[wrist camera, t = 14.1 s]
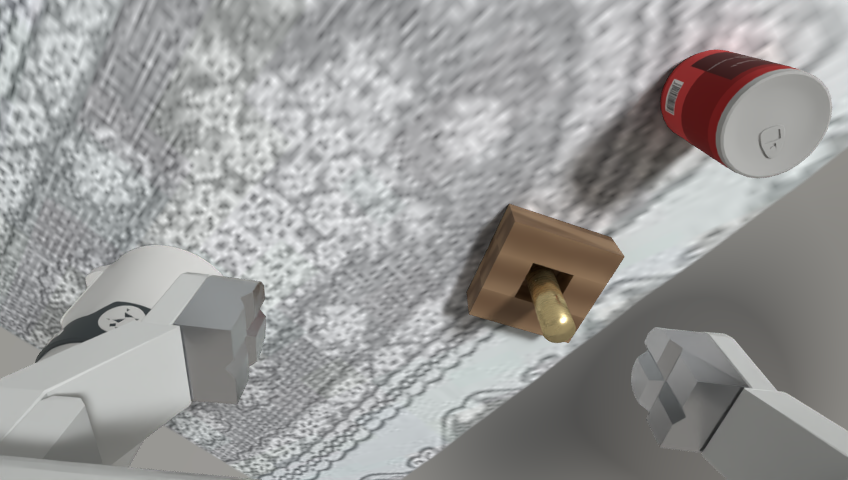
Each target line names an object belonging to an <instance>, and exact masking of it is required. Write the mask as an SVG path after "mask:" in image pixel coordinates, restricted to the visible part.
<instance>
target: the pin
mask: <svg viewBox="0 0 848 480" xmlns="http://www.w3.org/2000/svg"><path fill="white" fill-rule="evenodd" d="M525 279H526V282H527V285H528V288H529V292H530V295H531V298H532V301H533V304H534V307H535V311H536V314H537V317H538V320H539V323H540V326H541V330H542V333H543V336H544V337H545V338H546V339H547V340H548V341H550V342H554V343H561V342H565V341H567V340H569V339H570V338H571V337H572V336H573V335H574V333H575V331H576V326H575V323H574V321H573V319H572V316H571V314H570V311H569V309H568V307H567V304H566V302H565V299H564V297H563V295H562V292H561V290H560V287H559V285H558V283H557V280H556V278H555V275H554V273H553V271H552V268H548V267H545V266H542V265H539V264H536V263H533V264H532V266H531V268H530V270H529V272H528V274H527V275H526V277H525Z"/></svg>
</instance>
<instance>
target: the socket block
mask: <svg viewBox="0 0 848 480" xmlns="http://www.w3.org/2000/svg"><path fill="white" fill-rule="evenodd" d="M623 258H624V255H623V254H622V252H621V251H620V249H619V248H618V246H617V245H616V244H615V242H614V241H613V239H612V238H611V237H608V236H605V235H602V234H599V233H596V232H593V231H590V230H587V229H584V228H581V227H578V226H575V225H572V224H569V223H566V222H563V221H560V220H557V219H554V218H551V217H548V216H545V215H542V214H539V213H536V212H533V211H529V210H526V209H523V208H520V207H517V206H514V205H511V204H509V205H508V207H507V209H506V211H505V214H504V216H503V218H502V220H501V222H500V224H499V226H498V228H497V230H496V232H495V234H494V236H493V239H492V241H491V243H490V245H489V247H488V249H487V251H486V253H485V255H484V257H483V259H482V262H481V264H480V266H479V268H478V270H477V272H476V274H475V276H474V278H473V280H472V282H471V284H470V287H469V289H468V291H467V301H468V310H469V314H470V315H473V316H477V317H480V318H484V319H487V320H491V321H494V322H497V323H501V324H504V325H508V326H511V327H515V328H518V329H522V330H525V331H529V332H532V333H536V334H539V335H543V333H542V330H541V326H540V323H539V320H538V317H537V314H536V311H535V307H534V304H533V301H532V298H531V295H530V292H529V288H528V285H527V282H526V279H525V277H526V275H527V274H528V272H529V270H530V268H531V266H532V264H533V263H536V264H539V265H542V266H545V267H548V268H552V271H553V273H554V275H555V278H556V280H557V283H558V285H559V287H560V290H561V292H562V295H563V297H564V299H565V302H566V304H567V307H568V309H569V311H570V314H571V316H572V319H573V321H574V323H575V326H576V331H577V329H578V328H579V326H580V324H581V323H582V321H583V320H584V318H585V317H586V315H587V314H588V312H589V311H590V309H591V308H592V306H593V305H594V303H595V301H596V300H597V298H598V297H599V295H600V294H601V292H602V291H603V289H604V288H605V286H606V285H607V283H608V281H609V280H610V278H611V277H612V275H613V274H614V272H615V271H616V269H617V268H618V266H619V265H620V263H621V262H622V260H623ZM576 331H575V332H576ZM574 334H575V333H574ZM572 337H573V336H572ZM572 337H571V338H572ZM571 338H570V339H569V340H567V341H565V342H567V343H569V341H570V340H571Z"/></svg>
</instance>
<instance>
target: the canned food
mask: <svg viewBox="0 0 848 480" xmlns="http://www.w3.org/2000/svg"><path fill="white" fill-rule="evenodd" d="M660 102H661V111H662V115H663V118H664V120H665V122H666V124H667V126H668V127H669V128H670V129H671V130H672V131H673V132H674V133H676V134H677V135H679V136H680V137H682V138H683V139H685V140H686V141H688V142H689V143H691V144H692V145H694V146H695V147H697V148H698V149H700V150H701V151H703V152H704V153H706V154H707V155H709V156H710V157H712V158H713V159H715V160H716V161H718V162H719V163H721V164H722V165H724V166H726V167H727V168H729V169H731V170H732V171H734V172H736V173H739V174H741V175H743V176H746V177H751V178H767V177H771V176H775V175H779V174H781V173H784V172H786V171H788V170H790V169H792V168H793V167H795V166H797V165H798V164H800V163H801V162H802V161H803V160H805V159H806V158H807V157H808V156H809V155H810V154H811V153H812V152H813V151H814V150H815V149H816V147H817V146H818V144H819V143H820V142H821V140H822V139H823V137H824V135H825V133H826V131H827V129H828V126H829V122H830V119H831V112H832V103H831V97H830V94H829V91H828V89H827V87H826V86H825V85H824V83H823V82H822V81H821V80H820V79H818V78H817V77H816V76H814V75H811V74H810V73H807V72H805V71H802V70H799V69H796V68H792V67H789V66H785V65H781V64H777V63H773V62H769V61H765V60H761V59H757V58H753V57H749V56H745V55H741V54H737V53H733V52H729V51H724V50H708V51H705V52H701V53H698V54H695V55H693V56H691V57H689V58H687V59H686V60H684V61H683V62H682V63H680V64H679V65H678V66H677V67H676V68H675V69H674V70H673V72H672V73H671V74H670V76H669V77H668V79H667V81H666V83H665V85H664V87H663V90H662V94H661V101H660Z"/></svg>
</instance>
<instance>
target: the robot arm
mask: <svg viewBox="0 0 848 480" xmlns="http://www.w3.org/2000/svg"><path fill="white" fill-rule="evenodd" d="M86 284H87V289H86V290H85V292H84V293H83V294H82V295H81V296H80V297H79V298H78V299H77V300H76V302H75V303H74V304H73V305H72V306H71V307H70V308H69V309H68V311H67V312H66V313H65V314H64V315H63V317H62V318H61V321H60V324H61V325H62V330H61V331H60V332H59V333H57V334H56V335H54V336H53V337H52V338H51V339H50V341H49V342H48V343H47V344H46V346H45V347H44V349H43V350H42V351H41V352H40V353H39V355H38V357H37V359H36V362H35V363H34V364H32V365H30V366H28V367H25V368H23V369H21V370H18V371H16V372H14V373H11V374H9V375H7V376H5V377H2V378H0V480H260V479H249V478H238V477H227V476H217V475H207V474H195V473H185V472H174V471H164V470H152V469H142V468H132V467H129V466H130V464H131V462H132V461H133V459H134V457H135V455H136V454H137V452H138V450H139V448H140V446H141V445H142V443H143V441H144V440H145V439H146V438H147V437H148V436H150V435H151V434H152V433H154V432H155V431H156V430H158V429H159V428H160V427H161V426H163V425H164V424H165V423H167V422H168V421H169V420H171V419H172V418H173V417H174V416H176V415H177V414H178V413H180V412H181V411H182V410H185V409H187V408H188V407H189V405H190V404H191V402H192V401H199V402H212V403H225V404H238V402H239V400H240V397H241V395H242V393H243V391H244V389H245V387H246V384H247V382H248V380H249V366H251V365H252V364H254V363H255V362H257V360H258V358H259V355H260V353H261V351H262V347H263V343H264V339H265V330H266V316H265V315H264V314H263V313H262V311H261V310H260V308H261V306H262V304H263V302H264V300H265V293H264V285H263V283H262V282H261V281H254V280H246V279H239V278H232V277H224V276H223V275H222V274H221V273H220V272H219V271H218V270H217V269H216V268H215V267H214V266H212V265H211V264H210V263H208V262H207V261H206V260H204V259H202V258H201V257H199V256H197V255H195V254H193V253H191V252H188V251H186V250H183V249H180V248H176V247H171V246H164V245H149V246H142V247H138V248H135V249H133V250H130V251H128V252H127V253H125V254H124V255H122V256H121V257H120V258H119V259H118V260H117V261H115V262H114V263H112V264H111V265H106V266H101V267H98V268H95V269H93V270H91V271H90V273H89V274H88V275H87V276H86ZM645 344H646V347H647V350H648V351H646V352H645V353H643V354H642V355H640V356H639V357H637V359H636V361H635V364H634V366H633V369H632V378H631V384H632V388H633V393H634V395H635V397H636V399H637V401H638V403H639V404H641V405H642V406H643V407H645V408H646V409H647V410H648V411H649V414H648V417H647V422H648V424H649V426H650V428H651V430H652V432H653V434H654V436H655V438H656V441H657V443H658V445H659V447H661V448H669V449H675V450H683V451H691V452H698V453H702V454H701V455H702V456H703V457H704V458H705V459H706V460H707V461H708V462H709V463H710V464H711V465H712V466H713V467H714V468H715V469H716V470H717V471H718V472H719V473H720V474H721V475H722V476H723V477H724V478H725V479H726V480H848V431H847V430H845V429H843V428H842V427H840V426H839V425H837V424H836V423H834V422H832V421H830V420H829V419H828V418H826V417H824V416H822V415H821V414H819V413H818V412H816V411H815V410H813V409H811V408H810V407H808V406H807V405H805V404H803V403H802V402H800V401H798V400H797V399H795V398H794V397H792V396H790V395H789V394H787V393H785V392H779V391H777V390H776V389H775V388H774V386H773V385H772V384H771V383H770V382H769V381H768V379H767V378H766V377H765V376H764V374H763V373H762V372H761V371H760V370H759V369H758V367H757V366H756V365H755V364H754V363H753V361H752V360H751V359H750V358H749V357H748V355H747V354H746V353H745V352H744V351H743V349H742V348H741V347H740V346H739V345H738V344H737V342H736V341H735V340H734V339H733V338H732V337H730V336H728V335H726V334H722V333H709V332H692V331H683V330H673V329H664V328H654V329H652V330H651V331H650V332H649V334H648V336H647V338H646V340H645Z"/></svg>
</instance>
